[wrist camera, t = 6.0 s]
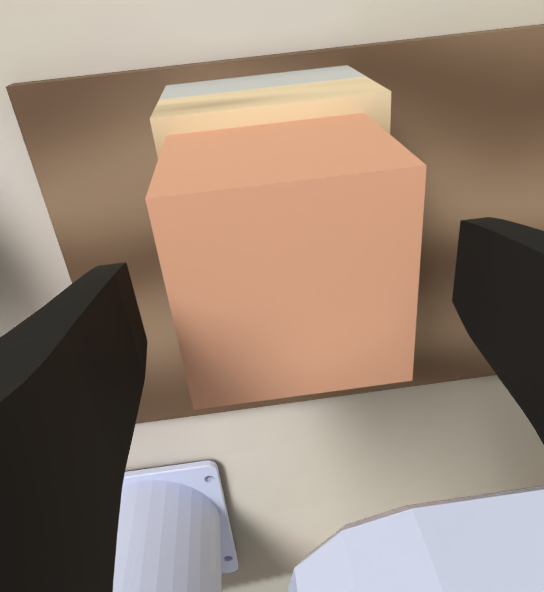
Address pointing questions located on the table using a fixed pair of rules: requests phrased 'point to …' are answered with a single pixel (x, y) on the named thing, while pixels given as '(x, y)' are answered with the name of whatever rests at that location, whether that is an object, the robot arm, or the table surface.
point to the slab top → (271, 106)
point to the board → (403, 127)
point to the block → (289, 256)
